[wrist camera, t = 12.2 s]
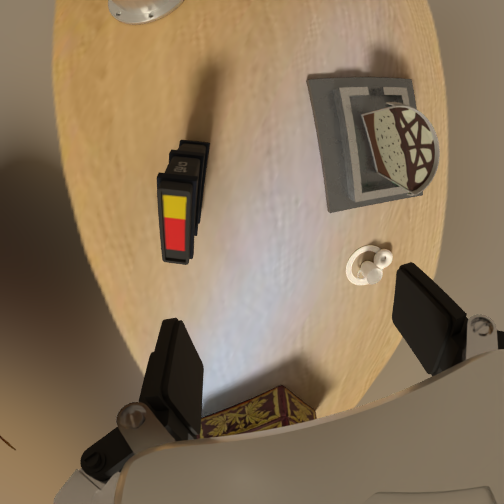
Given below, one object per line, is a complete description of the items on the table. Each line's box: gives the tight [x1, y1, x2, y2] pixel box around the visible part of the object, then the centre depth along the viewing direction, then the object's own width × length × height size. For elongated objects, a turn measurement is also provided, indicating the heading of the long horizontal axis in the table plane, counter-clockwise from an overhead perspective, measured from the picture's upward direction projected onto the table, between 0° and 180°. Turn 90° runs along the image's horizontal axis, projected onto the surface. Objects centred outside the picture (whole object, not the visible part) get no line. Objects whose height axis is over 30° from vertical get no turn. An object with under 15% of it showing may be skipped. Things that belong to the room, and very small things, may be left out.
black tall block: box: [157, 140, 210, 265], centre depth 33 cm, size 4×13×15 cm, turn 170°
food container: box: [361, 102, 440, 196], centre depth 31 cm, size 12×6×10 cm, turn 21°
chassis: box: [306, 77, 423, 213], centre depth 35 cm, size 20×18×4 cm
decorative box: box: [197, 385, 316, 439], centre depth 58 cm, size 28×19×15 cm
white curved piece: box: [346, 245, 393, 285], centre depth 45 cm, size 9×8×4 cm
